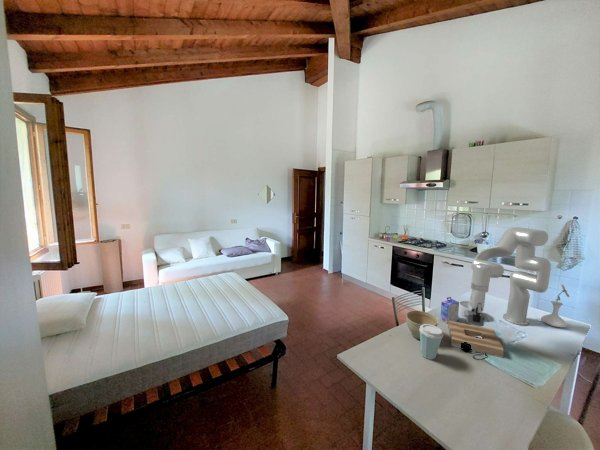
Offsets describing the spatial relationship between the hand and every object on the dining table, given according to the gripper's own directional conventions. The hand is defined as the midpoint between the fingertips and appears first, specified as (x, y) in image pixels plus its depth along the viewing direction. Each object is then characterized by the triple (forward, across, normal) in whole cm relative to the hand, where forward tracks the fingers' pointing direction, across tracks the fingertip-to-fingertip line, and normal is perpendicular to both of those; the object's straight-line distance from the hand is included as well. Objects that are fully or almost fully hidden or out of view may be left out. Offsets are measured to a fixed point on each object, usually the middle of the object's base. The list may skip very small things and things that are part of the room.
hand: (475, 318), depth 139 cm
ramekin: (+13, -33, +3) cm, 35 cm away
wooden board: (+13, -1, 0) cm, 13 cm away
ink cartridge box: (+13, -20, -10) cm, 25 cm away
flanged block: (+2, 0, 0) cm, 2 cm away
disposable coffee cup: (+14, +23, -22) cm, 35 cm away
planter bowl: (+14, +6, -26) cm, 30 cm away
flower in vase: (+12, -43, +48) cm, 66 cm away
